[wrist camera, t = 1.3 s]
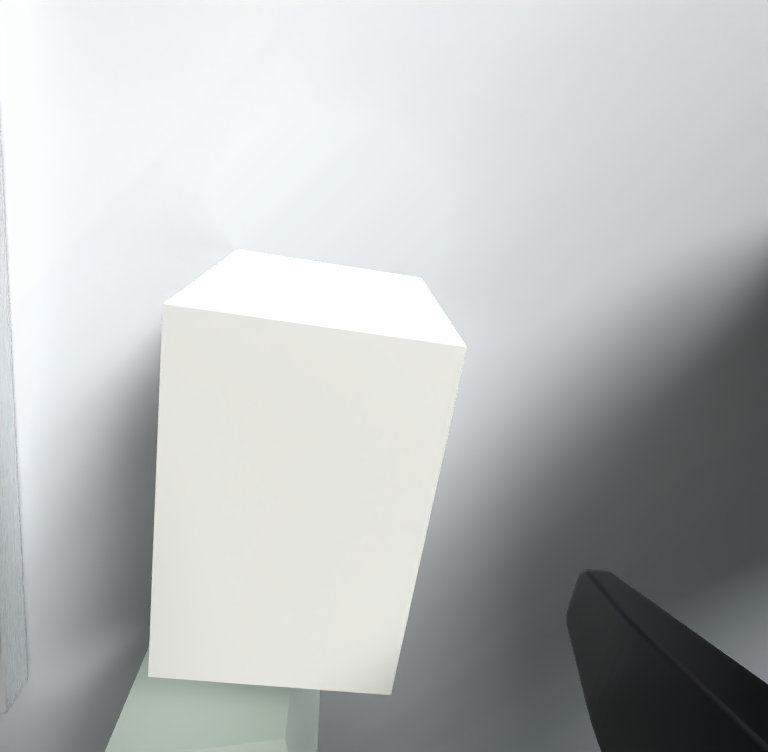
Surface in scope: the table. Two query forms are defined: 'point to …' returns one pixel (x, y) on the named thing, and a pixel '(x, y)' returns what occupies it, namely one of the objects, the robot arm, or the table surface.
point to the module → (295, 471)
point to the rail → (9, 506)
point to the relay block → (214, 717)
